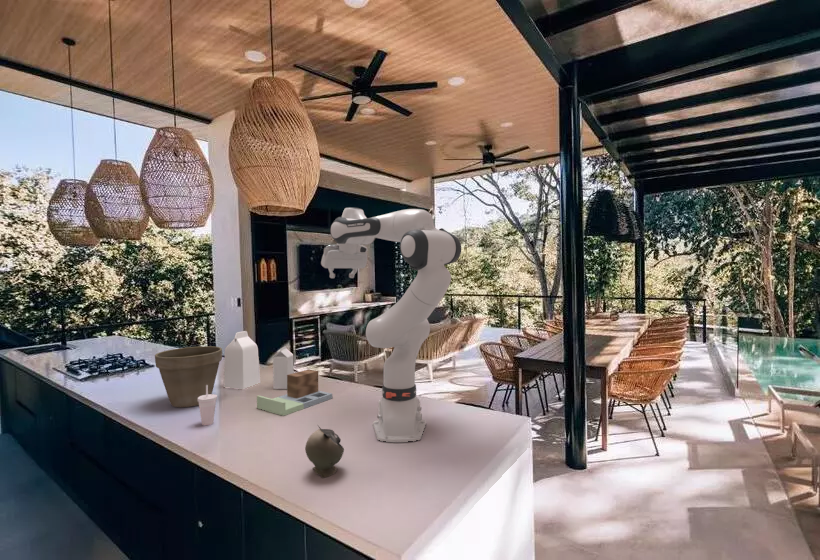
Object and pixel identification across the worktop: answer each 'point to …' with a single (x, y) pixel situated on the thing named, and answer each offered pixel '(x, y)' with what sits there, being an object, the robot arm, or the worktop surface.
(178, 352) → the plant pot
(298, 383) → the walnut block
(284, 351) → the milk carton
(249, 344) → the milk
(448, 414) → the worktop surface
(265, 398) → the trap deck
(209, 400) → the smoothie
